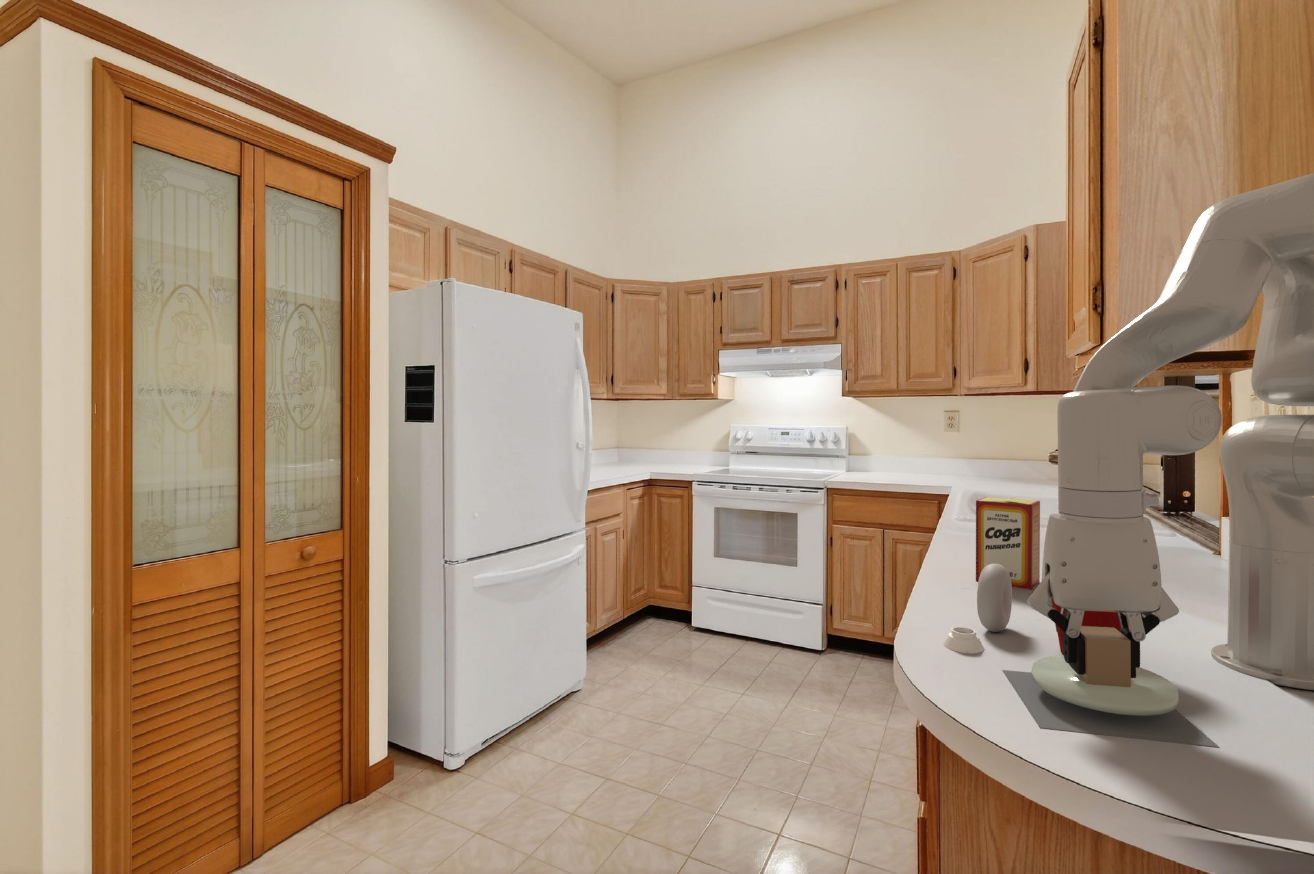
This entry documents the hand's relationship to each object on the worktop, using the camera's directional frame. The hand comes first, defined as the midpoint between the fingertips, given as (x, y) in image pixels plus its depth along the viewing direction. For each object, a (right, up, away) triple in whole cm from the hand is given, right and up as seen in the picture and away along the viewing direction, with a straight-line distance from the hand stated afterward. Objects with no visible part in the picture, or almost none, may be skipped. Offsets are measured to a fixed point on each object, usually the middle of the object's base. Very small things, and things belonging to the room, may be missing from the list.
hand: (1101, 669), depth 69 cm
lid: (0, -2, 0) cm, 2 cm away
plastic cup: (+8, -4, +13) cm, 16 cm away
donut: (+2, -4, +25) cm, 26 cm away
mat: (-1, -4, 0) cm, 4 cm away
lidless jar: (-7, -4, +17) cm, 19 cm away
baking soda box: (+19, -3, +53) cm, 56 cm away
